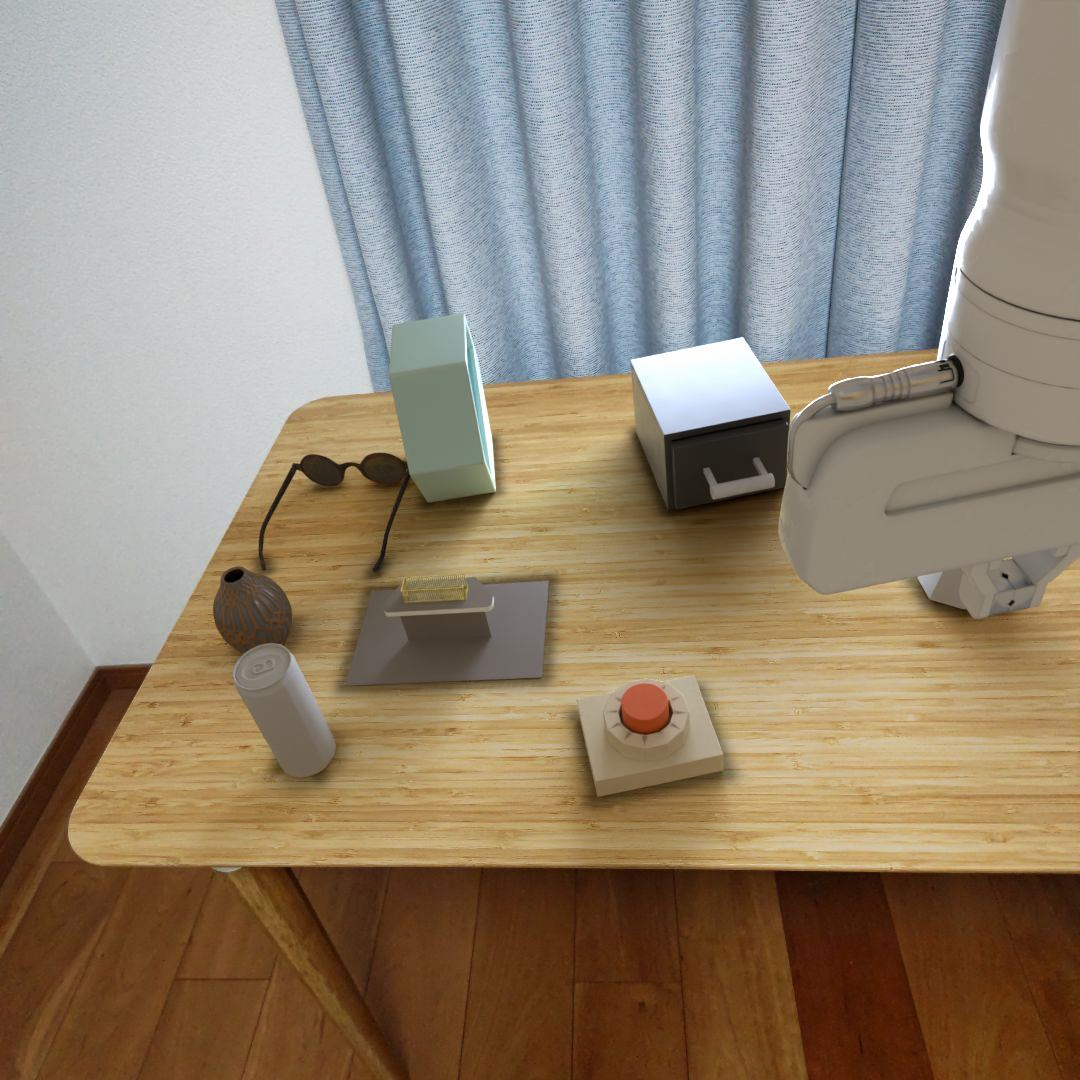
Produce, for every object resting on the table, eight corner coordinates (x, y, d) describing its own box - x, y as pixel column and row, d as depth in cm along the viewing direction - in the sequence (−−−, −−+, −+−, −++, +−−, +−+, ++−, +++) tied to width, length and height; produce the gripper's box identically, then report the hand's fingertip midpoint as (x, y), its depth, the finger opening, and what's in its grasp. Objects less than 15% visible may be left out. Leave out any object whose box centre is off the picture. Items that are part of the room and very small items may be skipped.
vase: (315, 621, 88) (286, 557, 82) (272, 674, 84) (238, 610, 78) (260, 606, 91) (228, 542, 85) (216, 656, 86) (179, 593, 80)
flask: (918, 608, 79) (936, 523, 72) (914, 551, 84) (930, 467, 77) (1009, 615, 77) (1036, 528, 70) (999, 556, 82) (1023, 471, 75)
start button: (662, 692, 71) (661, 678, 70) (674, 728, 69) (673, 715, 68) (618, 701, 71) (616, 687, 70) (628, 738, 69) (626, 724, 68)
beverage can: (278, 745, 77) (227, 655, 69) (332, 724, 78) (288, 633, 70) (286, 789, 74) (233, 700, 66) (342, 767, 75) (297, 676, 67)
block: (695, 691, 76) (693, 660, 73) (723, 770, 70) (723, 740, 67) (578, 715, 75) (573, 685, 73) (597, 797, 69) (592, 768, 67)
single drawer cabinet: (786, 486, 93) (790, 409, 87) (667, 510, 93) (663, 435, 87) (741, 410, 104) (743, 337, 98) (635, 431, 104) (630, 359, 97)
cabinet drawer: (800, 513, 89) (804, 450, 83) (687, 536, 88) (685, 474, 83) (743, 415, 102) (744, 355, 97) (645, 435, 101) (640, 376, 96)
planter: (501, 506, 104) (478, 443, 84) (435, 516, 104) (397, 456, 84) (483, 374, 109) (457, 284, 89) (419, 384, 109) (379, 297, 89)
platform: (371, 590, 90) (353, 543, 86) (548, 580, 88) (539, 531, 83) (345, 685, 81) (324, 637, 77) (542, 677, 79) (531, 627, 74)
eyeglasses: (420, 482, 102) (409, 446, 99) (384, 573, 92) (372, 537, 88) (301, 483, 105) (287, 449, 102) (253, 573, 95) (236, 538, 91)
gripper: (826, 443, 29) (801, 703, 38) (1426, 322, 30) (1259, 607, 39) (761, 349, 34) (753, 600, 43) (1281, 245, 34) (1163, 516, 44)
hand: (997, 603), depth 41 cm, fingers closed
